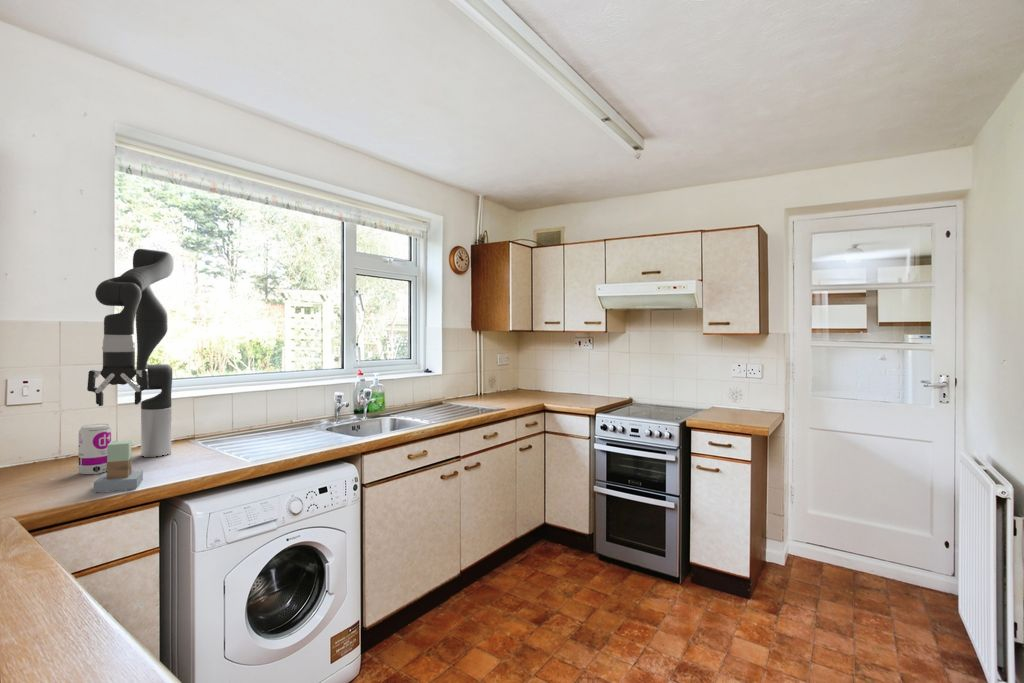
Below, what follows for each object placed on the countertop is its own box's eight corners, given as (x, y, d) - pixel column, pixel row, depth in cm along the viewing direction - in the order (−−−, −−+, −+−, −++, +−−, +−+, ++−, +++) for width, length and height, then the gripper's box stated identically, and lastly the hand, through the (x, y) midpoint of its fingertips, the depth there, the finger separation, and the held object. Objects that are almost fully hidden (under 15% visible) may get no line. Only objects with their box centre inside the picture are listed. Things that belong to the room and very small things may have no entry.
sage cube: (110, 458, 153) (110, 441, 153) (131, 456, 155) (131, 440, 155) (107, 462, 149) (107, 445, 149) (128, 460, 151) (128, 443, 151)
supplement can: (117, 470, 169) (117, 424, 168) (89, 476, 161) (89, 429, 161) (100, 467, 171) (100, 422, 171) (72, 473, 164) (72, 426, 163)
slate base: (102, 483, 154) (102, 473, 154) (142, 479, 159) (142, 470, 159) (93, 493, 145) (93, 482, 145) (136, 488, 150) (136, 478, 150)
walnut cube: (110, 474, 153) (110, 458, 153) (131, 473, 155) (131, 456, 155) (106, 479, 149) (106, 462, 149) (127, 477, 151) (127, 460, 151)
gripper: (150, 349, 158) (150, 402, 158) (91, 349, 151) (91, 404, 152) (146, 350, 151) (146, 405, 151) (84, 350, 144) (84, 408, 145)
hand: (119, 405), depth 152 cm, fingers open, 8 cm apart
